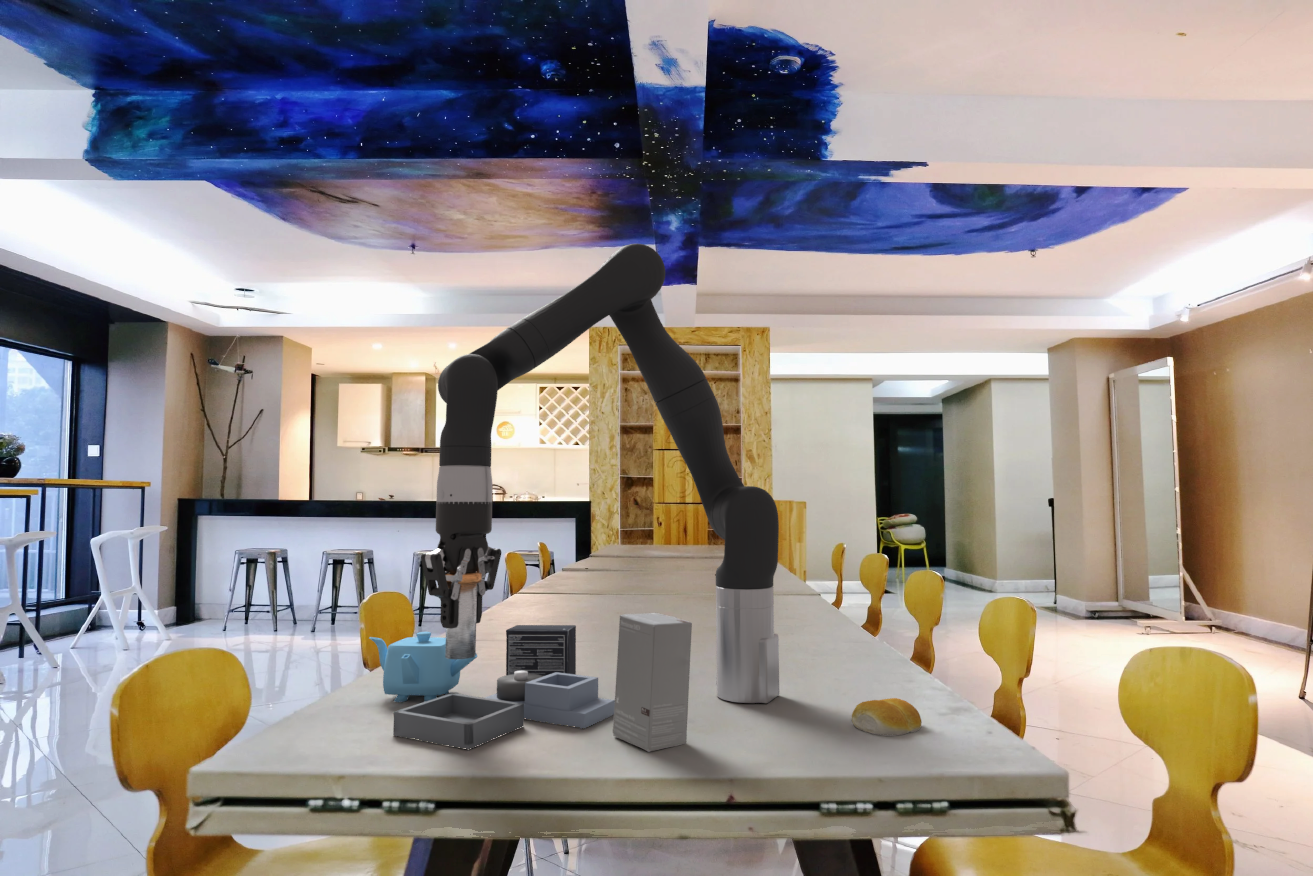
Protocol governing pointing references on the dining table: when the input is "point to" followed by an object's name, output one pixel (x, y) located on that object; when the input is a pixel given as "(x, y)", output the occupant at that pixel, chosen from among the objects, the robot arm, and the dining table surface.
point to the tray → (458, 720)
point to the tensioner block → (556, 697)
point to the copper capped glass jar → (464, 620)
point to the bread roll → (886, 717)
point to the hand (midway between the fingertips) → (461, 624)
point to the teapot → (418, 667)
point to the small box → (541, 649)
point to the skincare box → (652, 680)
